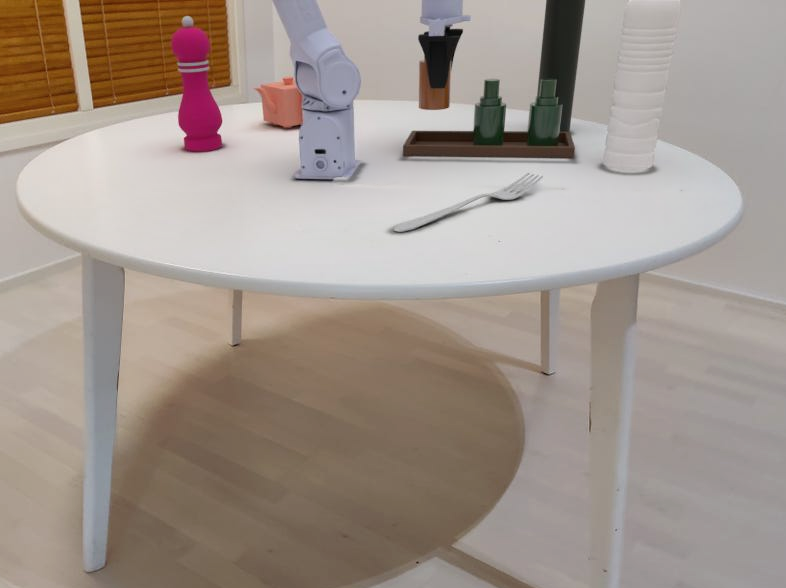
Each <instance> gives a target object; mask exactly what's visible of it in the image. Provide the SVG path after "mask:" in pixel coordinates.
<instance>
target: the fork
mask: <svg viewBox="0 0 786 588" xmlns="http://www.w3.org/2000/svg"><path fill="white" fill-rule="evenodd" d="M534 175H535V174H534V173H531V174H530V172H527V173H526V174H524V175H523V176H521V177H519V178H518V179H517V180H515V181H513V182H512V183H510V184H509V185H508V186H506V187H504V188H502V189H500V190H498V191H496V192H493V193H491V194H490V193H480V194H477V195H475V196H473V197H470V198H468V199H466V200H464V201H461V202H458V203H456V204H454V205H451V206H448V207H444V208H442V209H440V210H437V211H434V212H432V213H429V214H426V215H423V216H420V217H416V218H414V219H411V220H408V221H405V222H402V223H400V224H398V225H396V226H394V228H393V231H394V232H398V233H404V232H407V231H411V230H415V229H417V228H419V227H422V226H424V225H427V224H429V223H431V222H434V221H436V220H438V219H441V218H443V217H445V216H447V215H449V214H451V213H453V212H456V211H457V210H459V209H461V208H463V207H465V206H467V205H469V204H472V203H473V202H475V201H477V200H479V199H480V200H481V199H482V198H487V197H488V198H489V197H490V198H495V199H500V200H504V201H512V200H515V199H517V198H519V197H521V196H523V194H525V193H526V192H528V191H529V190H530V189H531V188H532V187H534V186H535V185H536V184H537V183H538V182H540V181H541V180H542V179H543V178H544V175H541V176H540V177H539V174H536V175H535V176H534ZM531 178H532V179H531Z"/></svg>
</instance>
